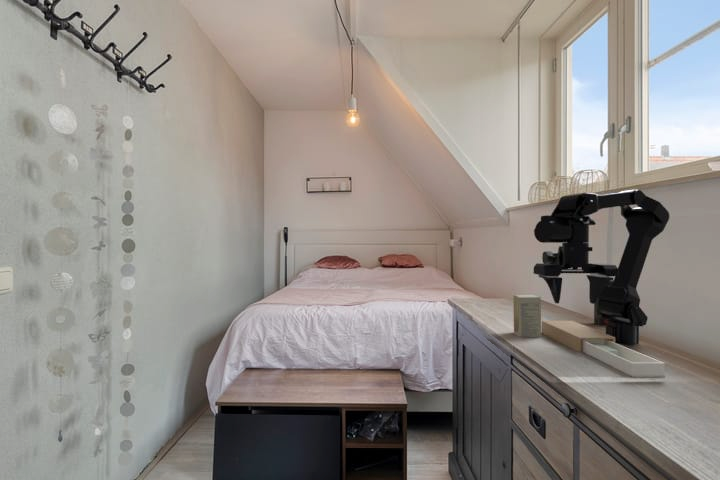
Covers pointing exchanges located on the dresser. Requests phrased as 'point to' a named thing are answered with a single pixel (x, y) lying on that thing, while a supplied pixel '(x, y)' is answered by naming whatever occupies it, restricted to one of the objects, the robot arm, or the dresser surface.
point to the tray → (625, 359)
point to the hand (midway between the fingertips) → (574, 303)
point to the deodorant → (597, 314)
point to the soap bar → (607, 348)
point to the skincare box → (527, 315)
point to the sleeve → (572, 333)
